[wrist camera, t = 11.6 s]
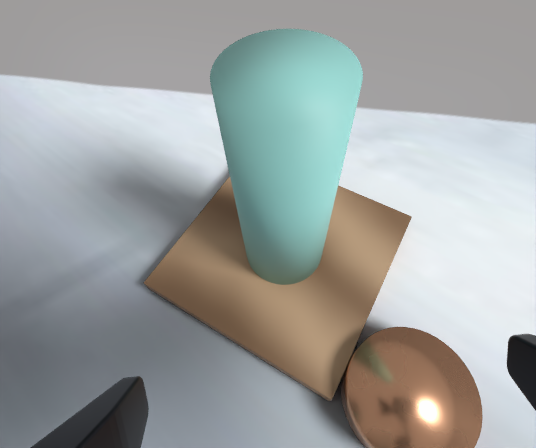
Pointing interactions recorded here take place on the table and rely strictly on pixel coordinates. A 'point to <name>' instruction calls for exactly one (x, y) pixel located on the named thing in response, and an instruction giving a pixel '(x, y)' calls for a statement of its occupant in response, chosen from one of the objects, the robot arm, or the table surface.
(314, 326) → the board
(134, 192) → the table surface
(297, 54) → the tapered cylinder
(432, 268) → the table surface
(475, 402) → the copper dome
